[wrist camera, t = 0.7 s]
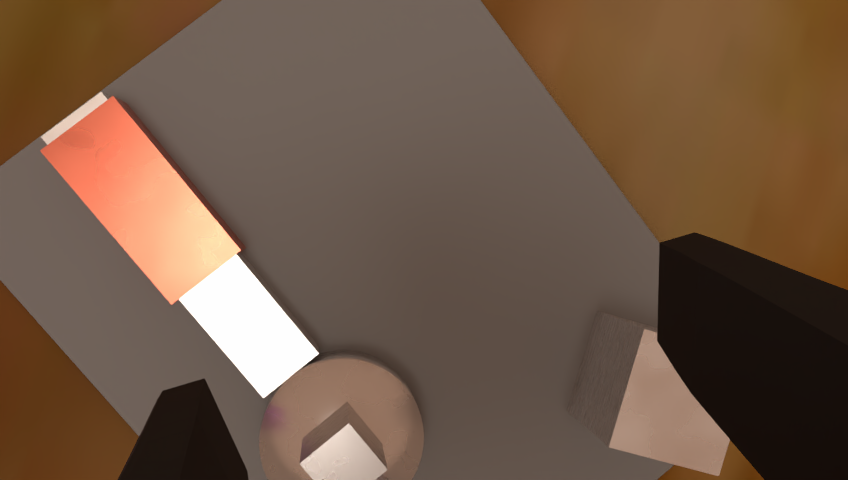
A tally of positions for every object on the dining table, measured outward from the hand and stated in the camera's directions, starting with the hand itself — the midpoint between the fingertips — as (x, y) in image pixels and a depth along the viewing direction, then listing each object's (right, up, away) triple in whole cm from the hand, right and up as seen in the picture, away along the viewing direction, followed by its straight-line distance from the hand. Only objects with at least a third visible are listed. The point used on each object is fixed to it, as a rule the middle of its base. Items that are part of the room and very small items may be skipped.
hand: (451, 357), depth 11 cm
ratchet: (-9, -1, +20) cm, 22 cm away
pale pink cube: (+10, -5, +23) cm, 25 cm away
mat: (-2, -1, +21) cm, 21 cm away
